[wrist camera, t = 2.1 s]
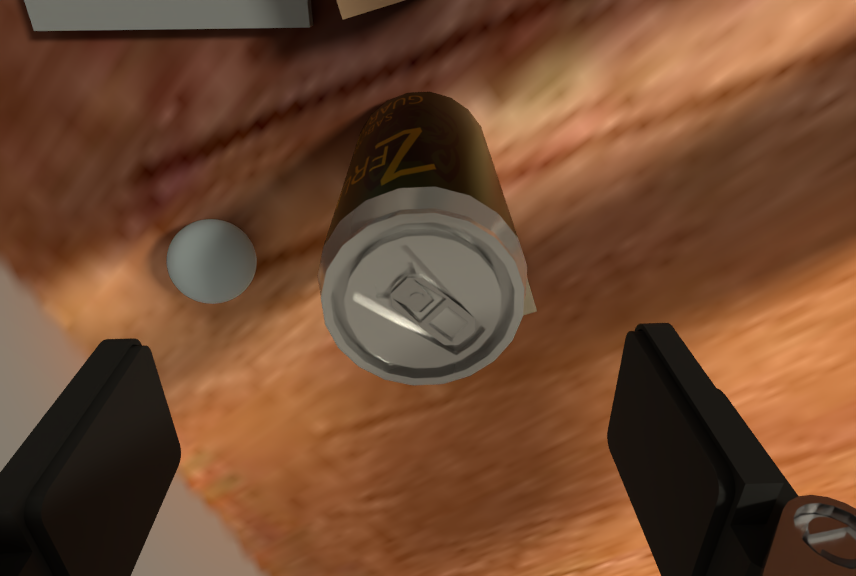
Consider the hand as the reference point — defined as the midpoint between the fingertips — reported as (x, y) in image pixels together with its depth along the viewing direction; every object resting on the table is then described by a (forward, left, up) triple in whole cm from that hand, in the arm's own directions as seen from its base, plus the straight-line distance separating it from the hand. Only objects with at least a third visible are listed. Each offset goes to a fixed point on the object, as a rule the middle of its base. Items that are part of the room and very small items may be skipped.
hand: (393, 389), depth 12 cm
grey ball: (+8, +4, -13) cm, 16 cm away
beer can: (-1, 0, -15) cm, 15 cm away
